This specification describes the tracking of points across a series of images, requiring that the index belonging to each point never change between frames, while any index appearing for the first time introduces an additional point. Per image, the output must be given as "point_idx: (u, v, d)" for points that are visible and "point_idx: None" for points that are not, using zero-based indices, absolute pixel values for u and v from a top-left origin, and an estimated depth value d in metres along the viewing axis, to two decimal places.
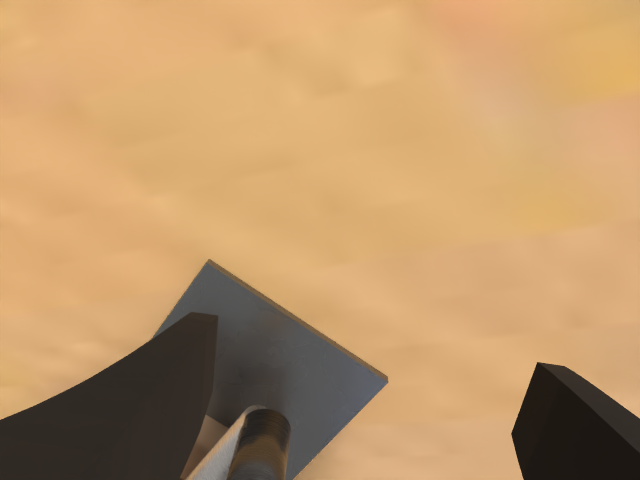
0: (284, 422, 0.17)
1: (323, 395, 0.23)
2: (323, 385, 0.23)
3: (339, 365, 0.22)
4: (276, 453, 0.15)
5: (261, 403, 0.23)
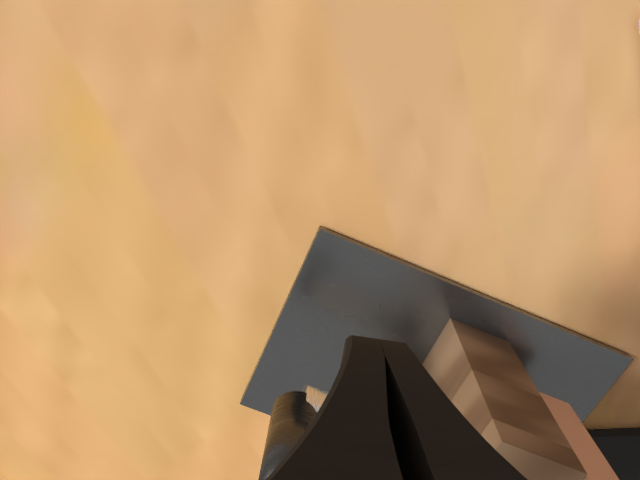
0: (276, 403, 0.17)
1: (353, 288, 0.21)
2: (341, 290, 0.21)
3: (312, 280, 0.21)
4: (269, 436, 0.16)
5: None
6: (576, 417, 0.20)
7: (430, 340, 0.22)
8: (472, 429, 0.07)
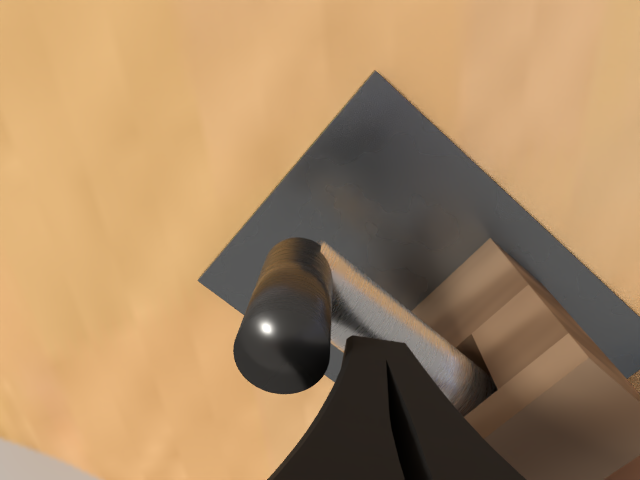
0: (276, 246, 0.12)
1: (389, 165, 0.17)
2: (373, 164, 0.17)
3: (342, 140, 0.16)
4: (265, 274, 0.11)
5: (396, 247, 0.18)
6: None
7: (456, 260, 0.18)
8: (471, 429, 0.07)
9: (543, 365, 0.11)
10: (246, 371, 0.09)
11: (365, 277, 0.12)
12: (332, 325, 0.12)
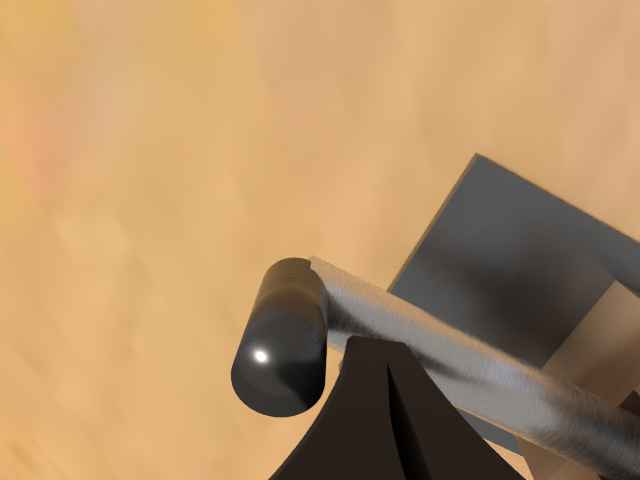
0: (268, 271, 0.12)
1: (506, 234, 0.17)
2: (490, 236, 0.17)
3: (456, 222, 0.17)
4: (256, 303, 0.11)
5: (523, 305, 0.18)
6: None
7: (585, 306, 0.18)
8: (470, 429, 0.07)
9: None
10: (249, 401, 0.09)
11: (361, 283, 0.12)
12: (337, 336, 0.12)
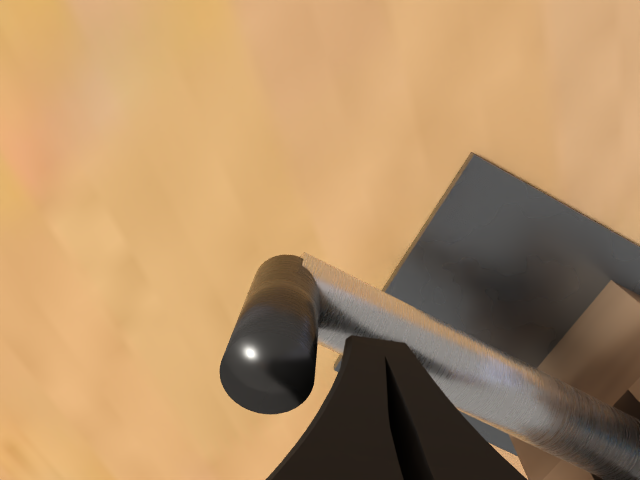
0: (260, 268, 0.12)
1: (501, 234, 0.17)
2: (485, 236, 0.17)
3: (452, 221, 0.17)
4: (247, 299, 0.11)
5: (519, 305, 0.18)
6: None
7: (580, 306, 0.18)
8: (472, 429, 0.07)
9: None
10: (238, 398, 0.09)
11: (354, 280, 0.12)
12: (329, 334, 0.12)
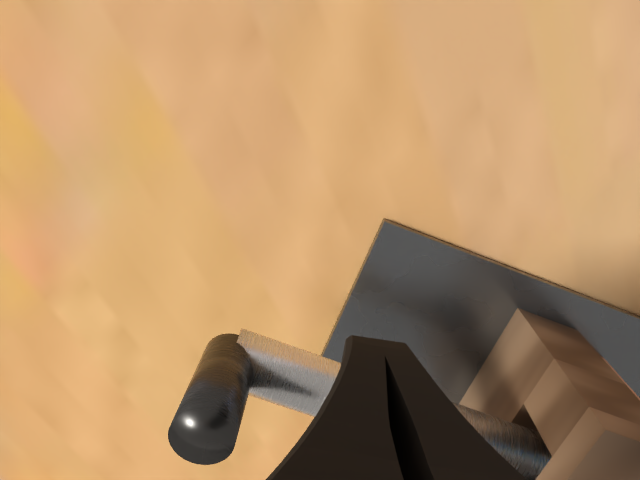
0: (206, 347, 0.16)
1: (419, 281, 0.21)
2: (406, 283, 0.21)
3: (376, 274, 0.21)
4: (193, 377, 0.15)
5: (444, 336, 0.22)
6: (612, 369, 0.21)
7: (496, 331, 0.21)
8: (471, 429, 0.07)
9: (578, 436, 0.15)
10: (185, 455, 0.13)
11: (280, 347, 0.16)
12: (262, 392, 0.16)
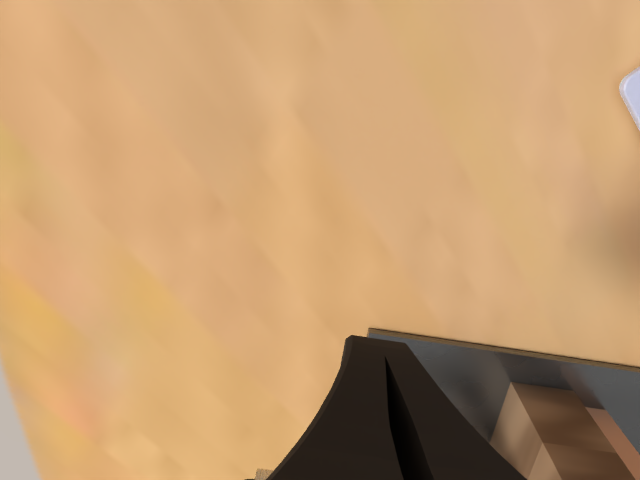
0: None
1: None
2: None
3: None
4: None
5: None
6: (613, 423, 0.22)
7: (497, 405, 0.23)
8: (472, 429, 0.07)
9: None
10: None
11: None
12: None
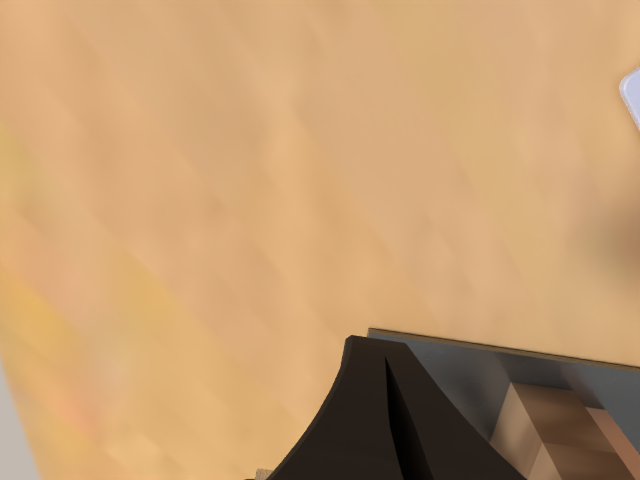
0: None
1: None
2: None
3: None
4: None
5: None
6: (613, 423, 0.22)
7: (497, 405, 0.23)
8: (472, 429, 0.07)
9: None
10: None
11: None
12: None
